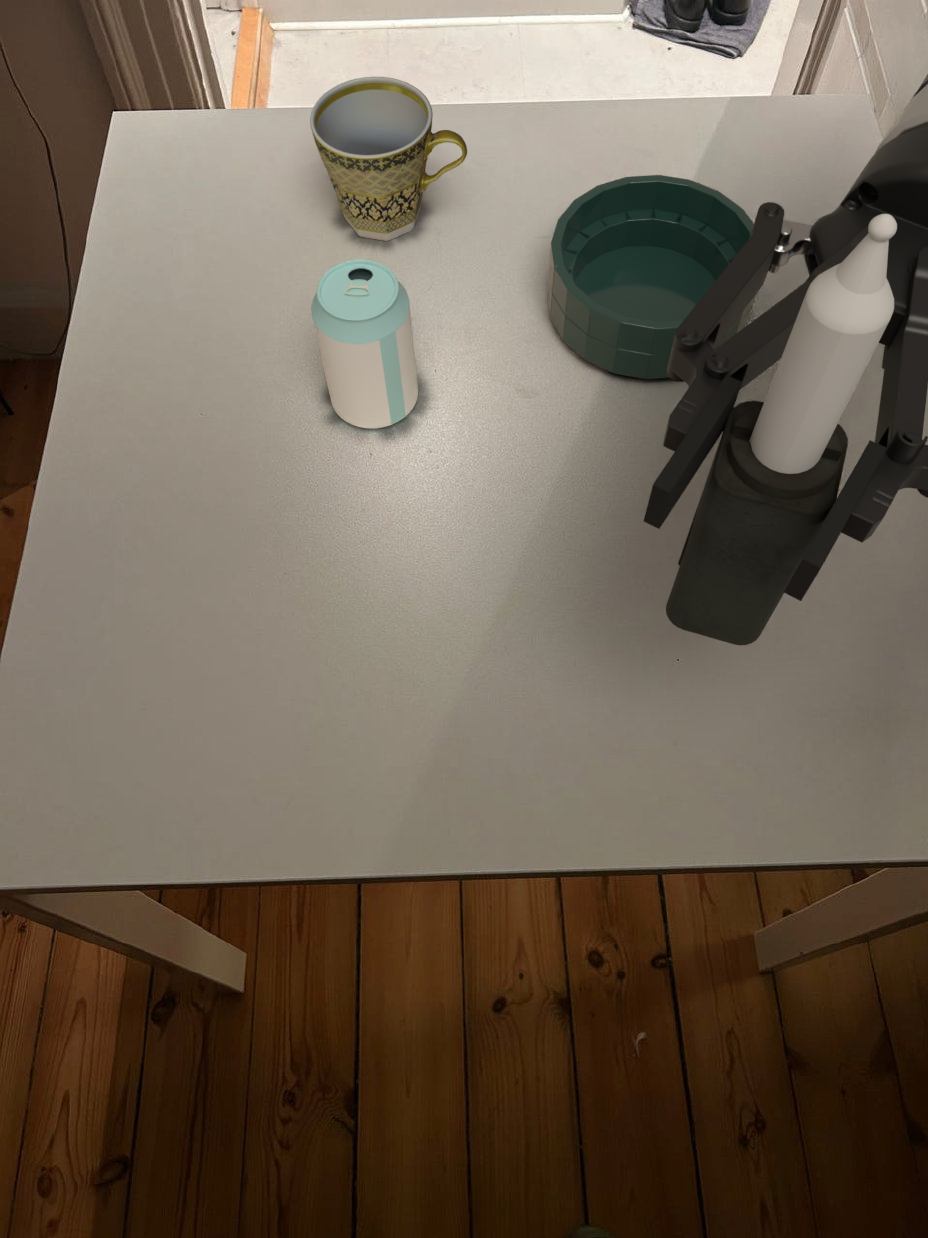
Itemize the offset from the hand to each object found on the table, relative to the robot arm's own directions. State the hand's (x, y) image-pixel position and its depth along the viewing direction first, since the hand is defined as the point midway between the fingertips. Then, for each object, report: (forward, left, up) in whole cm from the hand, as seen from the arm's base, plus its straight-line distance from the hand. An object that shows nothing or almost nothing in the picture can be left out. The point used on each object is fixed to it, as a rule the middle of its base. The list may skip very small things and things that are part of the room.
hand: (728, 542), depth 39 cm
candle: (0, -5, -13) cm, 14 cm away
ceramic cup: (+42, -35, -29) cm, 62 cm away
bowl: (+18, -37, -29) cm, 50 cm away
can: (+32, -17, -29) cm, 47 cm away
